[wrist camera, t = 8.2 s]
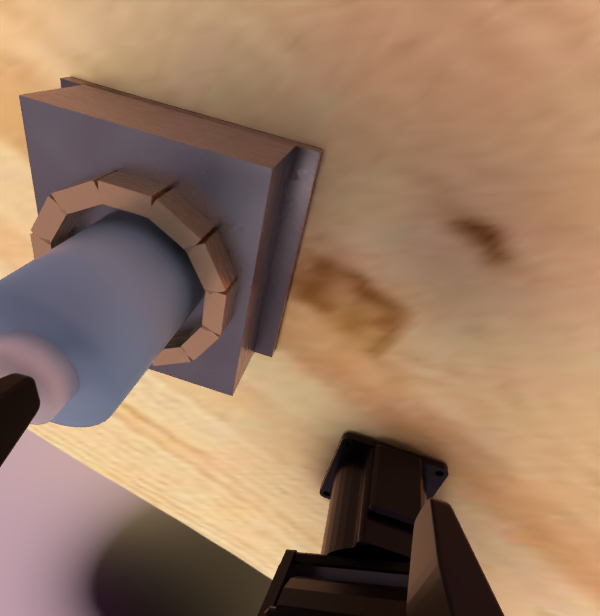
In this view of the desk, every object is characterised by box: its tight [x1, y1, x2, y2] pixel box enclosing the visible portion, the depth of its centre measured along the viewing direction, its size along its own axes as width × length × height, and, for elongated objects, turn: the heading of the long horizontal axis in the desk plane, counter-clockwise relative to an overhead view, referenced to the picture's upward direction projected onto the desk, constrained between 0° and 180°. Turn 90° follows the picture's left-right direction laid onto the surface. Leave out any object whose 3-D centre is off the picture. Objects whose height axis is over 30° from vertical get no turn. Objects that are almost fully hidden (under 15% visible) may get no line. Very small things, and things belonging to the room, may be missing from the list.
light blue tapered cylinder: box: [0, 211, 203, 427], centre depth 14 cm, size 5×5×7 cm
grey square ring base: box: [19, 77, 323, 396], centre depth 18 cm, size 11×11×5 cm
